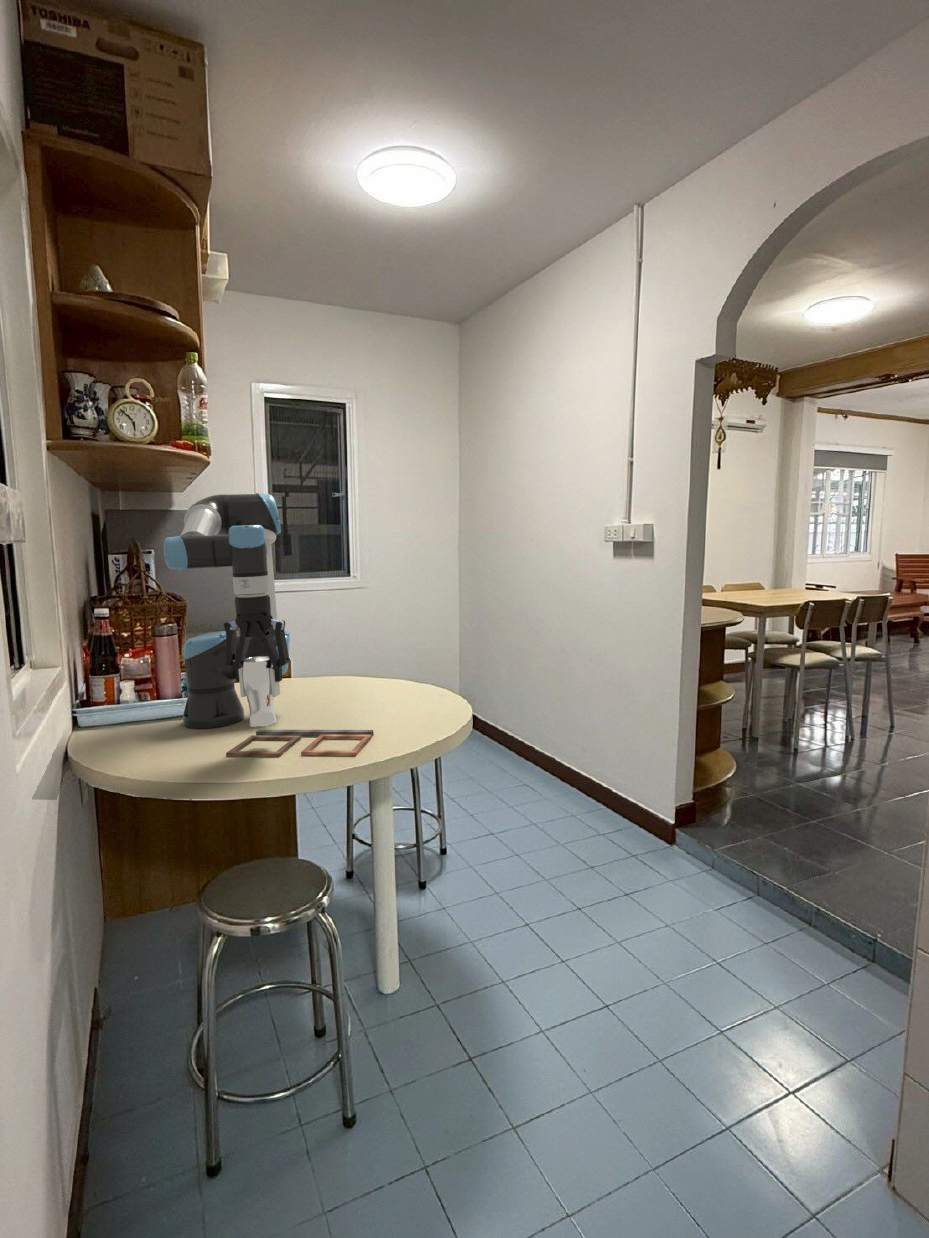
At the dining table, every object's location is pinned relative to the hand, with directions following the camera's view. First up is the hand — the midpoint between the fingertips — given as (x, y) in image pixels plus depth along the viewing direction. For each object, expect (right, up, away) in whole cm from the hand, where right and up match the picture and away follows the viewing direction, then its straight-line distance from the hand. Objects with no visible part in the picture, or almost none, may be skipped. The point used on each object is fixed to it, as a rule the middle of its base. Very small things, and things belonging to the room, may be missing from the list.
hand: (260, 695), depth 149 cm
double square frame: (+9, -12, +2) cm, 15 cm away
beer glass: (0, -7, +1) cm, 7 cm away
